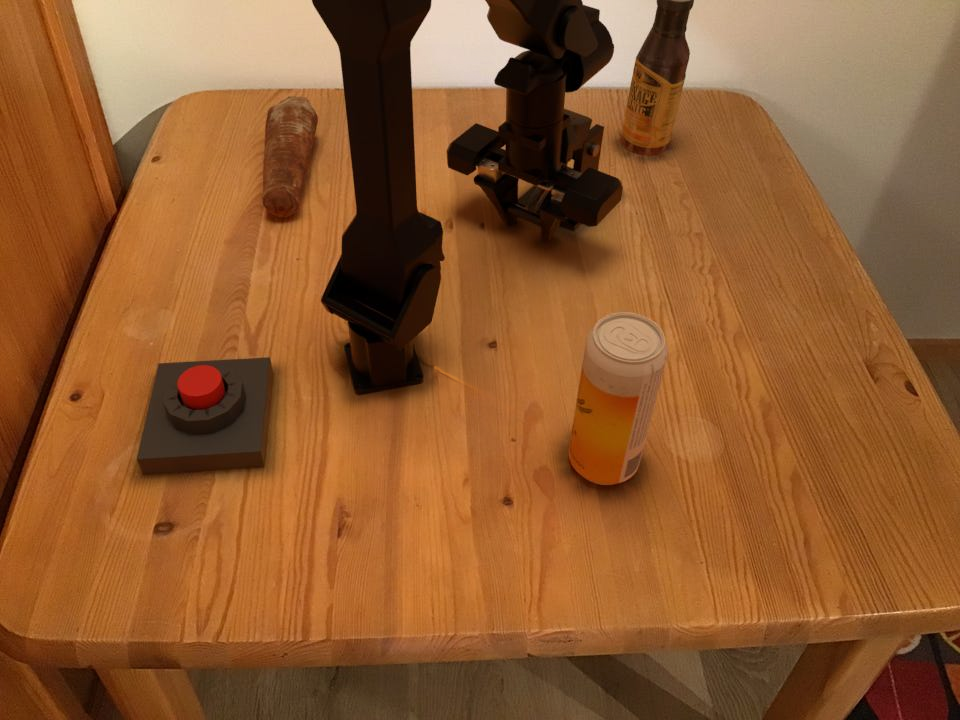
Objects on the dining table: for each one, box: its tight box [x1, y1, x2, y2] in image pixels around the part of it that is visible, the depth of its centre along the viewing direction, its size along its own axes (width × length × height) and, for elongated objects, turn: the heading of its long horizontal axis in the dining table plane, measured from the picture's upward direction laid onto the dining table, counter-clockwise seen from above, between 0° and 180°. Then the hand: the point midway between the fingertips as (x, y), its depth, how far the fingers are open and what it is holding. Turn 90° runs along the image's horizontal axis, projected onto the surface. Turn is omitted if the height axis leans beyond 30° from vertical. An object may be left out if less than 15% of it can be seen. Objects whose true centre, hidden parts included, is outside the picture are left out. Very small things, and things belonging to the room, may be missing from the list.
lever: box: [507, 150, 575, 228], centre depth 93 cm, size 12×4×2 cm, turn 145°
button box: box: [136, 356, 274, 476], centre depth 74 cm, size 11×10×4 cm
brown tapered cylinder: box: [262, 95, 319, 218], centre depth 100 cm, size 6×19×6 cm, turn 2°
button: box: [177, 365, 225, 410], centre depth 72 cm, size 4×4×2 cm
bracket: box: [518, 123, 605, 232], centre depth 96 cm, size 10×8×10 cm
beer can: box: [568, 311, 669, 486], centre depth 68 cm, size 6×6×15 cm
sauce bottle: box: [621, 0, 695, 156], centre depth 102 cm, size 7×6×20 cm
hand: (529, 235), depth 95 cm, fingers open, 4 cm apart
